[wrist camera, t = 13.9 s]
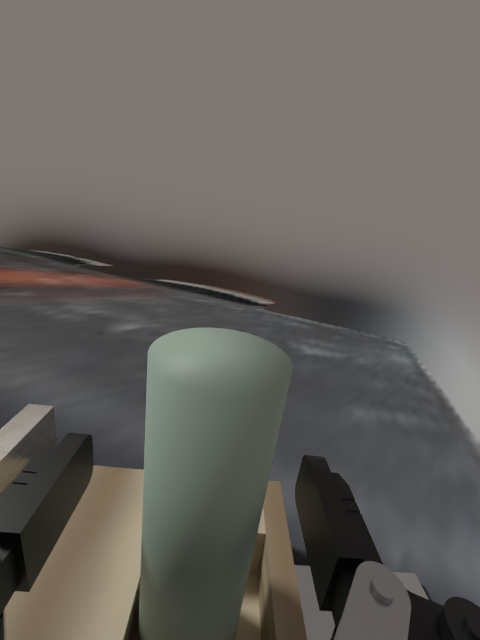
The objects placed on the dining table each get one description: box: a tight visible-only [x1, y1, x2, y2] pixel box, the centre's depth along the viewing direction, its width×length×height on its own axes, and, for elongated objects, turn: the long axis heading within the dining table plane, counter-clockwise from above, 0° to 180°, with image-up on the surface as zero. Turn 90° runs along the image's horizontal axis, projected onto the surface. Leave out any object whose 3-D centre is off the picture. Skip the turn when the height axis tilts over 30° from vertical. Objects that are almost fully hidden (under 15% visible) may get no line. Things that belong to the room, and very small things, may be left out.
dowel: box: [138, 328, 292, 640], centre depth 10 cm, size 4×4×14 cm
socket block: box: [5, 465, 307, 640], centre depth 12 cm, size 14×12×4 cm
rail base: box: [0, 404, 429, 640], centre depth 12 cm, size 25×16×7 cm, turn 91°
